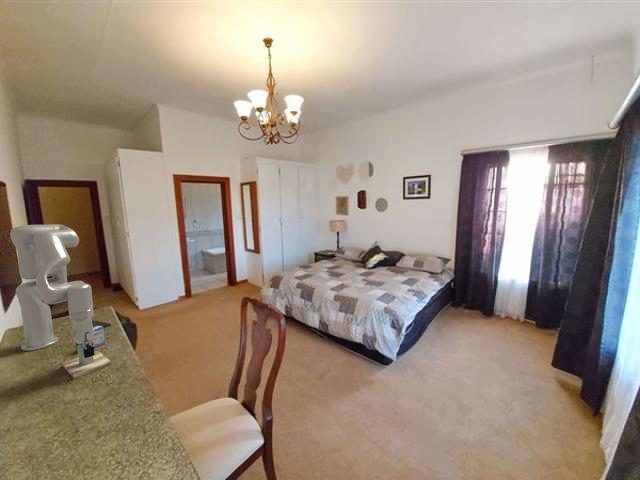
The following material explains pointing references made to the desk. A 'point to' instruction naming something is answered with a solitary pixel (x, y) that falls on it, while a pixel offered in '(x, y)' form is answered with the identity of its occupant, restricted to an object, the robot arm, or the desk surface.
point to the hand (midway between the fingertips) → (85, 353)
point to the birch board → (81, 370)
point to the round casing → (81, 355)
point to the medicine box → (98, 336)
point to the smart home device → (100, 324)
